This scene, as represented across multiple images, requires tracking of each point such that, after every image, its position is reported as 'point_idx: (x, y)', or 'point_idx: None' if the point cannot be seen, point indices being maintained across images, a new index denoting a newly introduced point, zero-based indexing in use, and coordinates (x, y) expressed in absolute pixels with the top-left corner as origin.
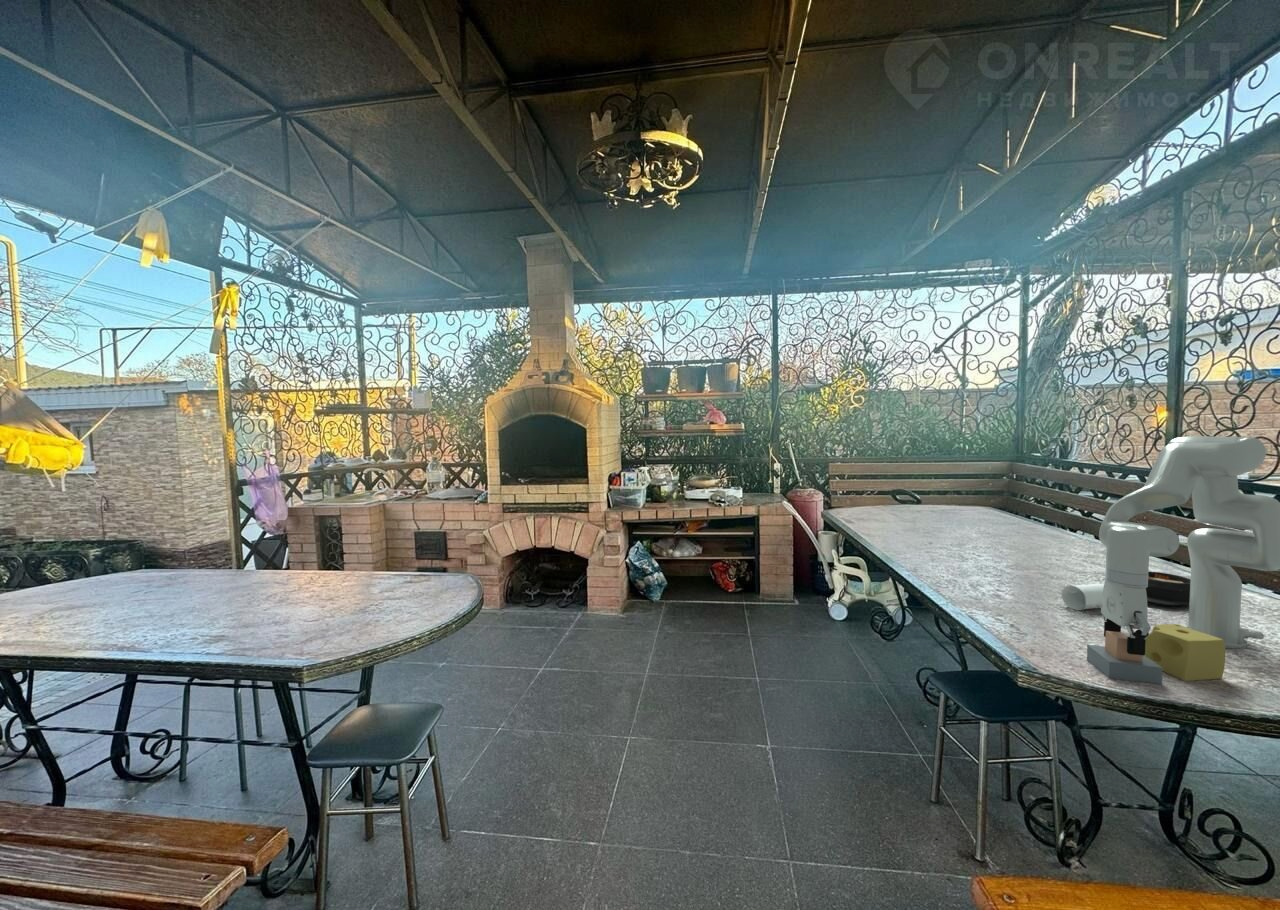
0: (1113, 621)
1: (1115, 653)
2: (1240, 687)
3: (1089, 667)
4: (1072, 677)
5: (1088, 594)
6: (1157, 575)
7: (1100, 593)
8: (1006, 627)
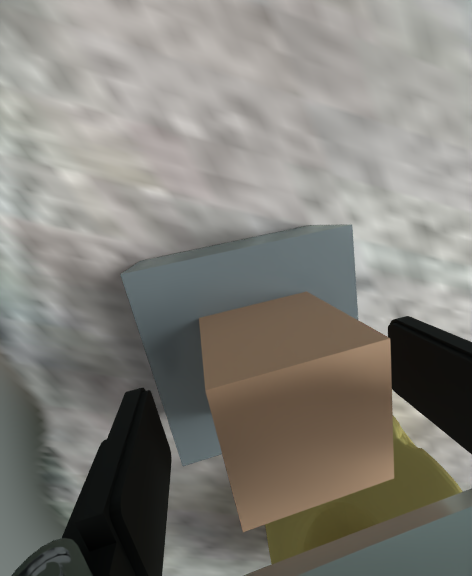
0: (325, 573)
1: (211, 324)
2: None
3: (225, 214)
4: (35, 97)
5: None
6: None
7: None
8: None
